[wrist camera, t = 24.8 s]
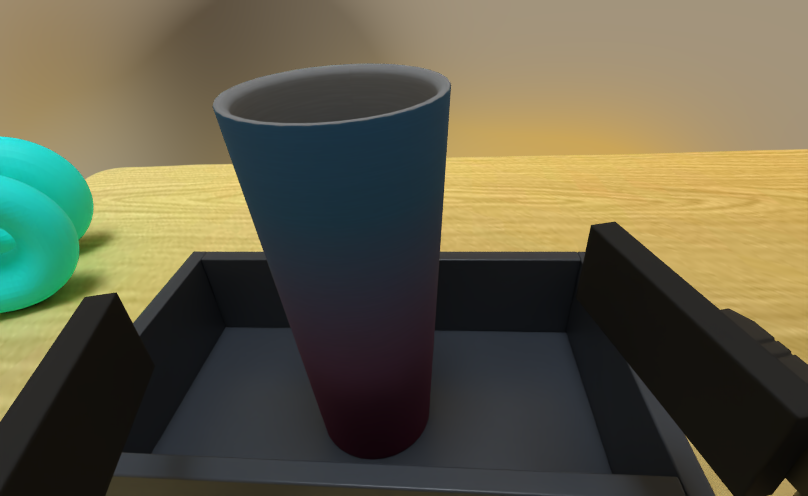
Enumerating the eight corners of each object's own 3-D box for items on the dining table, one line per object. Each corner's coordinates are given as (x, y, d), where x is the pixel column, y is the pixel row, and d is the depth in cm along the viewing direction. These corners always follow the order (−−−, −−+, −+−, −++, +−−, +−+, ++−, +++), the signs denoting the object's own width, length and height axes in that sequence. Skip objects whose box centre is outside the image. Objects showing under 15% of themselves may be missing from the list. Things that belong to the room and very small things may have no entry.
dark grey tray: (574, 335, 26) (593, 251, 23) (662, 592, 15) (721, 505, 12) (222, 329, 28) (193, 251, 25) (90, 554, 17) (7, 470, 14)
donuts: (-74, 342, 28) (-199, 204, 23) (-21, 262, 36) (-105, 145, 31) (101, 295, 31) (28, 165, 26) (115, 232, 39) (61, 120, 34)
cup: (452, 480, 18) (459, 118, 10) (289, 479, 18) (165, 129, 10) (445, 355, 24) (445, 58, 16) (320, 357, 24) (256, 68, 16)
